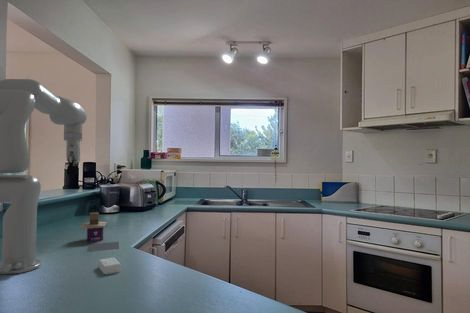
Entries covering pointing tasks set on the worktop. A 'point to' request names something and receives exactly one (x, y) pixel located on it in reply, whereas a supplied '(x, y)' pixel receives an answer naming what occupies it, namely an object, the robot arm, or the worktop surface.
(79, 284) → the worktop surface
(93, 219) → the lid
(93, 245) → the mat
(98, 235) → the mug
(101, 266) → the soap
